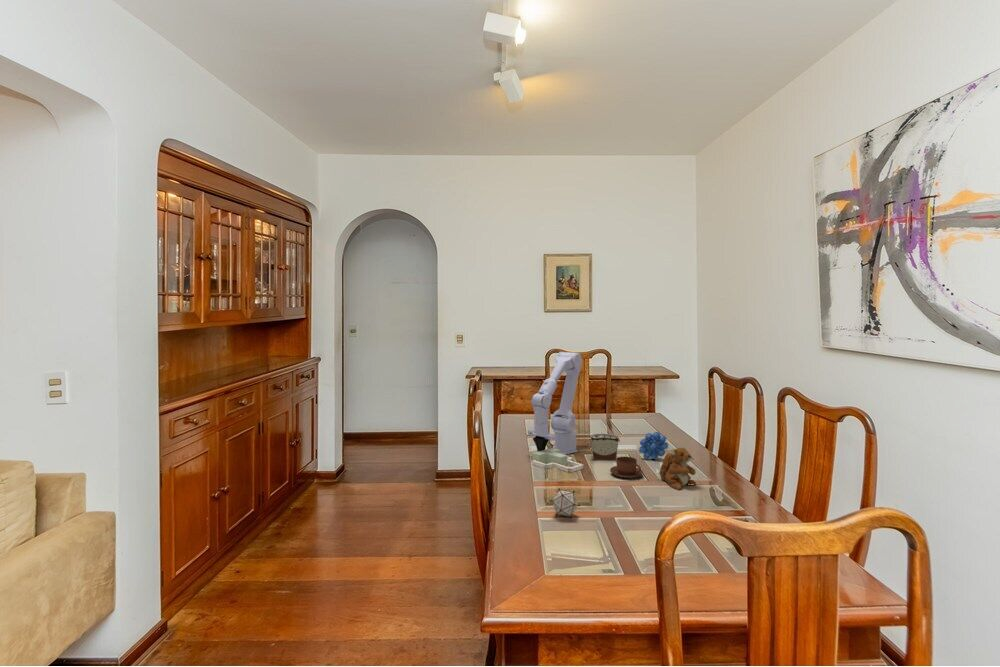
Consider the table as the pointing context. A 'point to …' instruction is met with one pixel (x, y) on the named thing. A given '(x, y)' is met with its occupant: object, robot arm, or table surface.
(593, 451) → the food container
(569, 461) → the T socket
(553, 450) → the T block
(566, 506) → the game die
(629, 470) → the cup and saucer
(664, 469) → the stuffed squirrel
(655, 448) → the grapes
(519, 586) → the table surface
